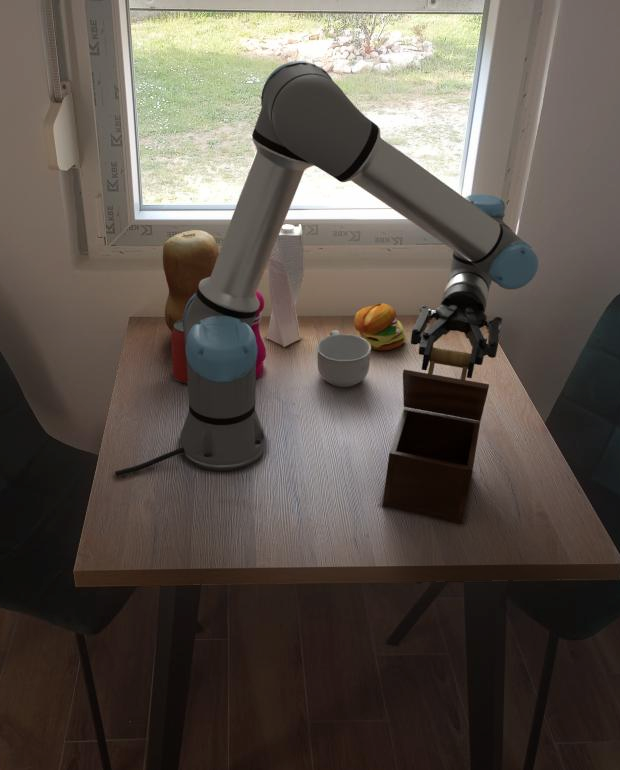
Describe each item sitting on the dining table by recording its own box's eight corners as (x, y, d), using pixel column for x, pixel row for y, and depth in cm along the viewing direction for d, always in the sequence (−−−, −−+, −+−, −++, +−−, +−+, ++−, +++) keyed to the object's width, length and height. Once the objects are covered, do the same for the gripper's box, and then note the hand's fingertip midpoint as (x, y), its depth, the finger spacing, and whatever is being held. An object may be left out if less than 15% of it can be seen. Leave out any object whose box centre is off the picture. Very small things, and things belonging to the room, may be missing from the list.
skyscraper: (258, 337, 178) (261, 218, 163) (281, 327, 182) (286, 209, 167) (284, 350, 173) (289, 228, 158) (307, 339, 177) (314, 219, 163)
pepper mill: (271, 367, 167) (273, 280, 156) (256, 383, 161) (258, 294, 151) (240, 359, 169) (240, 273, 159) (224, 375, 164) (224, 287, 153)
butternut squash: (165, 326, 182) (160, 222, 168) (224, 324, 183) (223, 220, 170) (166, 356, 170) (160, 247, 157) (229, 354, 171) (228, 245, 158)
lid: (488, 388, 118) (495, 351, 120) (402, 373, 121) (410, 337, 123) (480, 421, 131) (486, 387, 133) (403, 407, 135) (410, 373, 137)
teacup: (370, 394, 158) (373, 359, 154) (316, 392, 159) (318, 358, 154) (363, 359, 170) (366, 326, 166) (313, 358, 170) (315, 325, 166)
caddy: (461, 524, 126) (472, 470, 121) (382, 506, 130) (389, 453, 124) (470, 473, 137) (480, 421, 132) (396, 458, 141) (403, 407, 135)
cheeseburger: (410, 353, 172) (404, 313, 167) (361, 362, 174) (354, 323, 169) (403, 330, 181) (397, 292, 176) (357, 339, 182) (349, 301, 177)
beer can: (192, 388, 159) (191, 335, 153) (166, 378, 162) (163, 327, 156) (211, 374, 164) (210, 322, 158) (185, 365, 167) (183, 314, 161)
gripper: (516, 330, 137) (508, 398, 119) (406, 313, 142) (382, 376, 124) (524, 291, 133) (517, 355, 115) (411, 275, 138) (387, 334, 120)
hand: (447, 366), depth 119 cm, fingers closed on lid, 6 cm apart
